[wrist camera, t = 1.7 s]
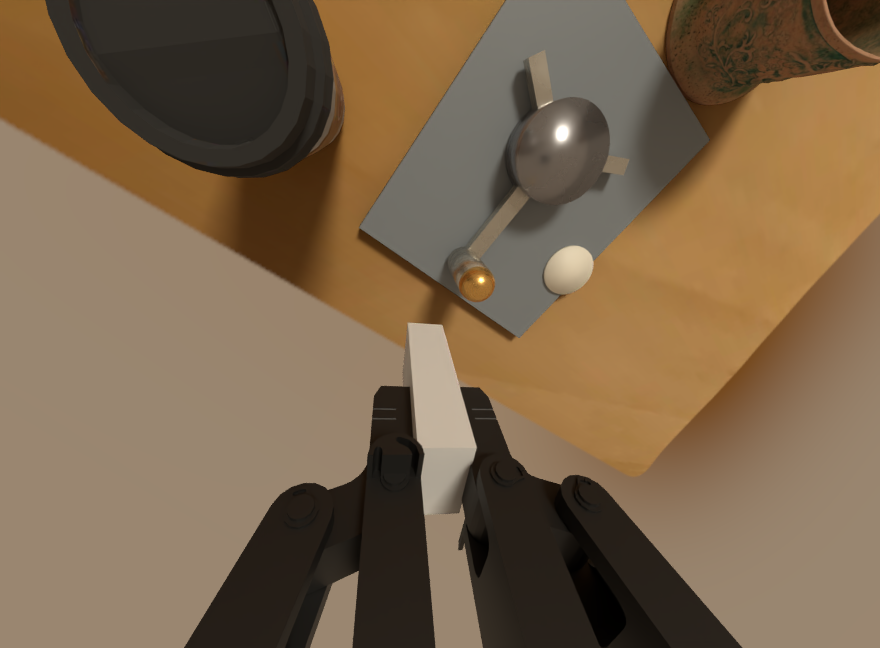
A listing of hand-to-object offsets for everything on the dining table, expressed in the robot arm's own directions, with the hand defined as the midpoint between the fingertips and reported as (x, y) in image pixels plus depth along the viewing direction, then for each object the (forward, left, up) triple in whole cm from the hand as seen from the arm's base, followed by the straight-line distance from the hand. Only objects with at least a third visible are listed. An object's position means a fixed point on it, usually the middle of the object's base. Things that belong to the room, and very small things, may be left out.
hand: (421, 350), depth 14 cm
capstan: (+5, +9, -16) cm, 19 cm away
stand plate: (+6, +11, -18) cm, 22 cm away
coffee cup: (-12, +4, -18) cm, 22 cm away
